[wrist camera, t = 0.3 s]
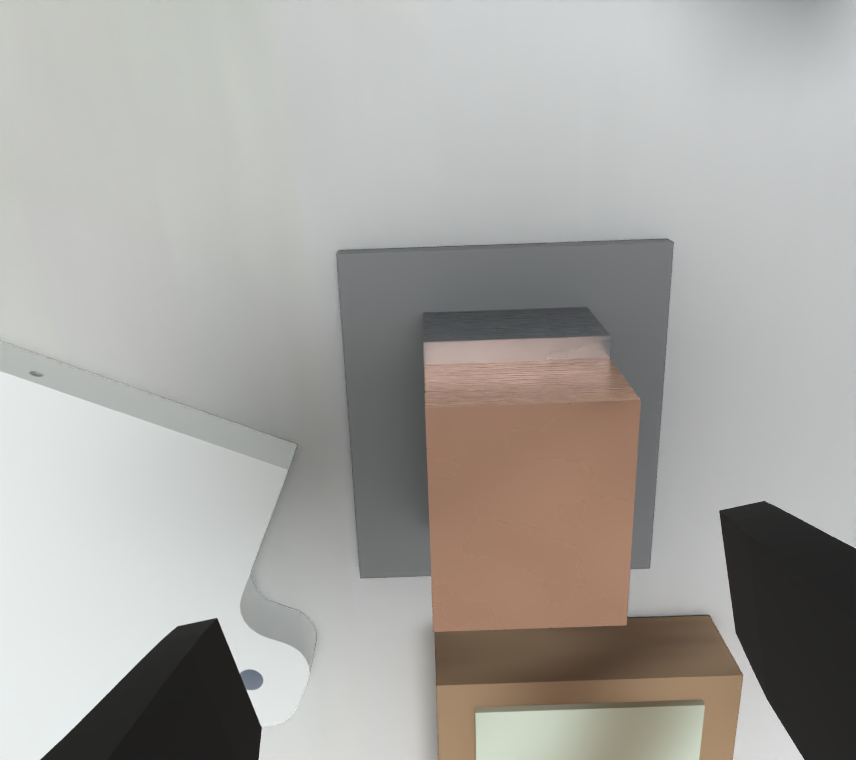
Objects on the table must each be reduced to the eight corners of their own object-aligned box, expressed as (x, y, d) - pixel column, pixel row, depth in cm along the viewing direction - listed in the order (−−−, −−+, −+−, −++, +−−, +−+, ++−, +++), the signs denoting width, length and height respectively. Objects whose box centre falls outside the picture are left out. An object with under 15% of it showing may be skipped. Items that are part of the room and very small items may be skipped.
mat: (667, 238, 19) (673, 242, 18) (644, 558, 22) (650, 568, 21) (338, 250, 19) (336, 253, 18) (361, 568, 22) (360, 578, 21)
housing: (587, 306, 19) (642, 374, 14) (579, 523, 21) (625, 645, 16) (423, 312, 19) (424, 382, 14) (430, 528, 21) (434, 651, 16)
